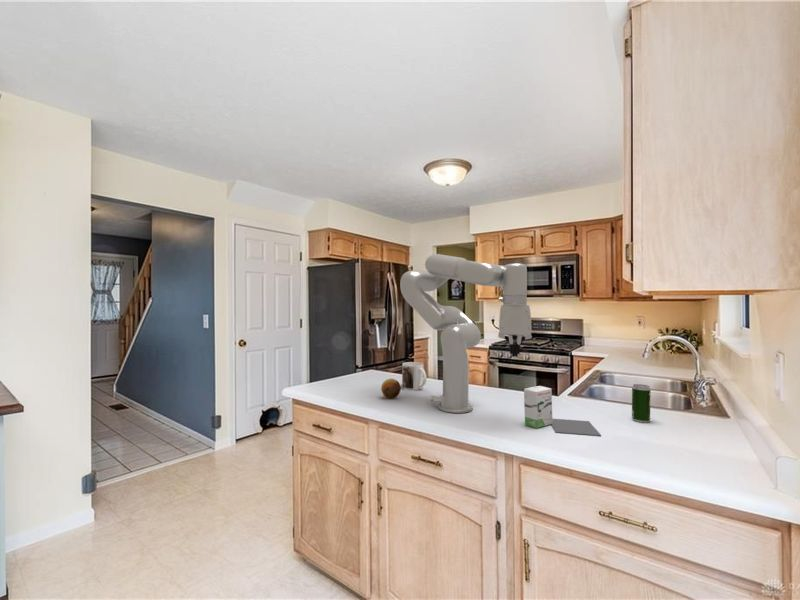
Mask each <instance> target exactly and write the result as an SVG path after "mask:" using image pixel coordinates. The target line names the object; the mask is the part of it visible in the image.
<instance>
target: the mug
mask: <svg viewBox="0 0 800 600" xmlns="http://www.w3.org/2000/svg"><path fill="white" fill-rule="evenodd" d="M401 367H402V370H401V373H402V374H401V387H402V388H401V389H403V390H408V391H419V390H422V389H423V388H424V386H425V385H426V383H427V372H426V371H425V368H424V367H425V366H424V363H423V362H418V361H415V362H414V361H411V362H410V361H407V362H403V363H402V365H401Z"/></svg>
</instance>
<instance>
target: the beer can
mask: <svg viewBox="0 0 800 600" xmlns="http://www.w3.org/2000/svg"><path fill="white" fill-rule="evenodd" d="M651 393H652V391H651V388H650V385H646V384H638V383H633V384H632V388H631V419H632V420H633V421H634V422H636V423H642V424H648V423H650V420H651V397H652V396H651Z"/></svg>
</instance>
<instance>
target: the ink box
mask: <svg viewBox="0 0 800 600" xmlns="http://www.w3.org/2000/svg"><path fill="white" fill-rule="evenodd" d="M552 392H553V391H552V388H550V387H546V386H542V385H538V386H537V385H536V386H531V387H526V388H524V389H523V393H524V394H523V399H524V403H523V404H524V406H523V407H524V425H526V426H528V427H532V428H535V429H539V428H542V427H546V426H549V425H551V424H552V423H553V421H552V419H553V397H552V395H553V393H552Z"/></svg>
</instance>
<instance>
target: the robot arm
mask: <svg viewBox="0 0 800 600" xmlns="http://www.w3.org/2000/svg"><path fill="white" fill-rule="evenodd" d="M424 266H425V270H418V269H411V270H408V271H406V272H404V273H403V274H402V276H401V278H400V280H399V281H400V283H399V284H400V286H399V287H400V292H401V295H402V297H403V299H404V300H405V301H406V302H407V304H409V305H410V307H411V308H412V309H413V310H415V311H416V313H417V314H419V316H420V317H421V319H423V320H424V321H425V322H426V323H427V325H428V326H429V327H431V329H433V330H436V331H441V334H440V344H441V349H442V395H439V396H434V395H431V396H430V401H431V402H433V403H438V409H439V410H440V411H443V412H446V413H452V414H465V413H470V412H471V411H473V405H472V404H470V403H469V382H470V379H469V375H470V374H469V373H470V371H469V369H470V368H469V366H470V365H469V357H468V352H467V349H470V348H474V347H476V346H478V345H479V343H480V341H481V339H482V335H481V334H482V333H481V331H480V328H479V327H478V326H477V325H476V324H475V323H474V322H473V321H472V319H470V318H469V316H468V315H466V314H465V313H464V312H463V311H462V310H461V309H459V308H458V307H456V306H453V305H441V304H440V303H439V302H438V301H436V299H434V298H433V296H431V295H430V294H429V293H427V292H432V291H436V290H438V288H440V287H441V286H442V285H443V284H445V283H446V282H448V281H449V280H454V281H459V282H465V283H467V284H468V283H469V284H473V285H478V286H485V287H498V288H499V287H503V290H502V291H503V293H502V296H501V297H498V302H500V303H503V304H502V305H501V306H500V309H499V320H498V335H497V338H499V339H503V340H506V342H507V343H509V354H511V356H512V357H513V358H514V357H517V358H518V355H521V353H520V352H521V350H520V349H521V348H520V346H521V343H523V342H524V341H525V340H526V341H527V340H530V339H531V340H532V338H533V336H532V314H531V308H530V305H529V304H528V297H527V294H528V269H527V266H526V264H524V263H518V262H517V263H508V264H505V265H499V264H493V263H486V262H480V261H474V260H473V261H472V260H467V259H466V258H464V257H459V256H453V255H446V254H439V253H436V254H435V253H434V254H431V255H429V256H428V257H427V258H426V259H425V262H424ZM513 336H516V340H515V342H514V339H513Z"/></svg>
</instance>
